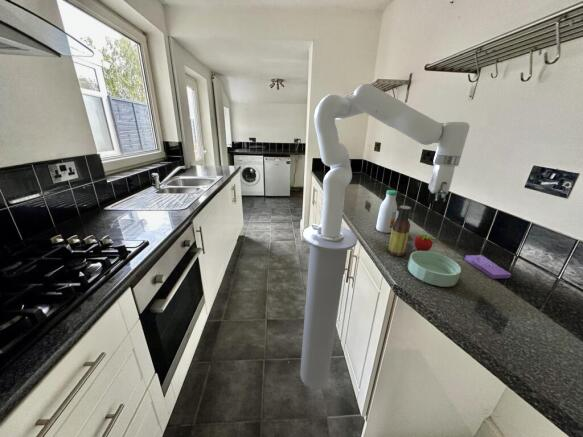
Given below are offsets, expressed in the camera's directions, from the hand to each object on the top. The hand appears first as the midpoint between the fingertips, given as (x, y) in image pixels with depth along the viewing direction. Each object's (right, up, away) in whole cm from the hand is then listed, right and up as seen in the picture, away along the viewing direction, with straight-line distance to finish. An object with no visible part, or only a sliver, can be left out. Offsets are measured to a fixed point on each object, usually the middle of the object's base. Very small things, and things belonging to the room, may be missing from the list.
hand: (434, 207), depth 86 cm
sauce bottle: (-11, -18, +8) cm, 23 cm away
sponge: (+19, -23, 0) cm, 30 cm away
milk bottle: (-7, -10, +29) cm, 31 cm away
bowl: (-4, -24, -5) cm, 25 cm away
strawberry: (-1, -19, +8) cm, 21 cm away
